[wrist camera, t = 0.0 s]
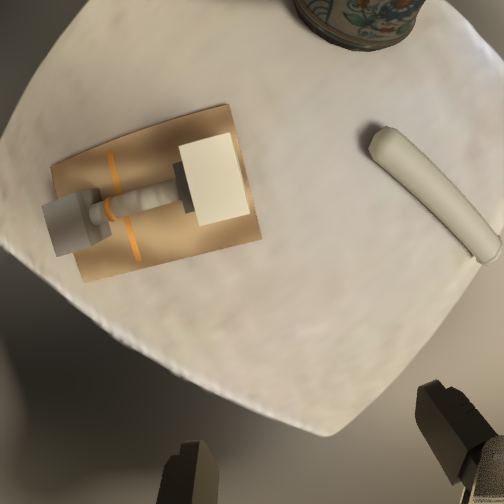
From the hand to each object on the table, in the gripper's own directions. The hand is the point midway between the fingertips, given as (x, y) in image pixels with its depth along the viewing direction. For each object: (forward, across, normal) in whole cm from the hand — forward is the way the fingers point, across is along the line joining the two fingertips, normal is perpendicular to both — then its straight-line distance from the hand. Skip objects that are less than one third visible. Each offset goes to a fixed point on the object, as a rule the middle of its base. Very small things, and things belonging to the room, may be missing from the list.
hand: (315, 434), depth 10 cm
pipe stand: (+29, +12, -9) cm, 33 cm away
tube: (+30, -24, -1) cm, 38 cm away
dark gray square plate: (+27, +6, -9) cm, 29 cm away
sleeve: (+27, +3, -9) cm, 29 cm away
